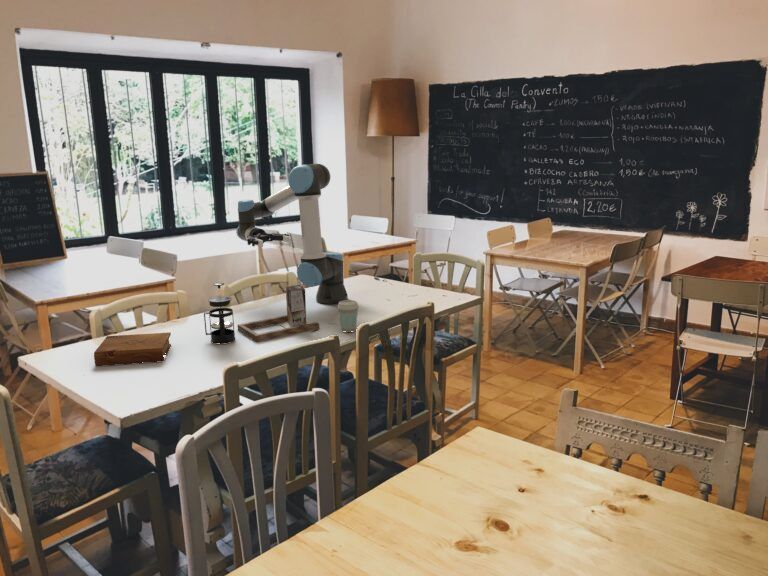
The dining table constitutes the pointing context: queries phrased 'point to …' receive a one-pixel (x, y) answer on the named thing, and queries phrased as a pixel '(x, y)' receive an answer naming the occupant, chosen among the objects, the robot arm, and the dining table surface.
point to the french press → (220, 319)
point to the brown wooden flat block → (132, 349)
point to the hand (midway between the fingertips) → (276, 242)
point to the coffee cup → (348, 315)
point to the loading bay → (277, 333)
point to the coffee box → (296, 305)
